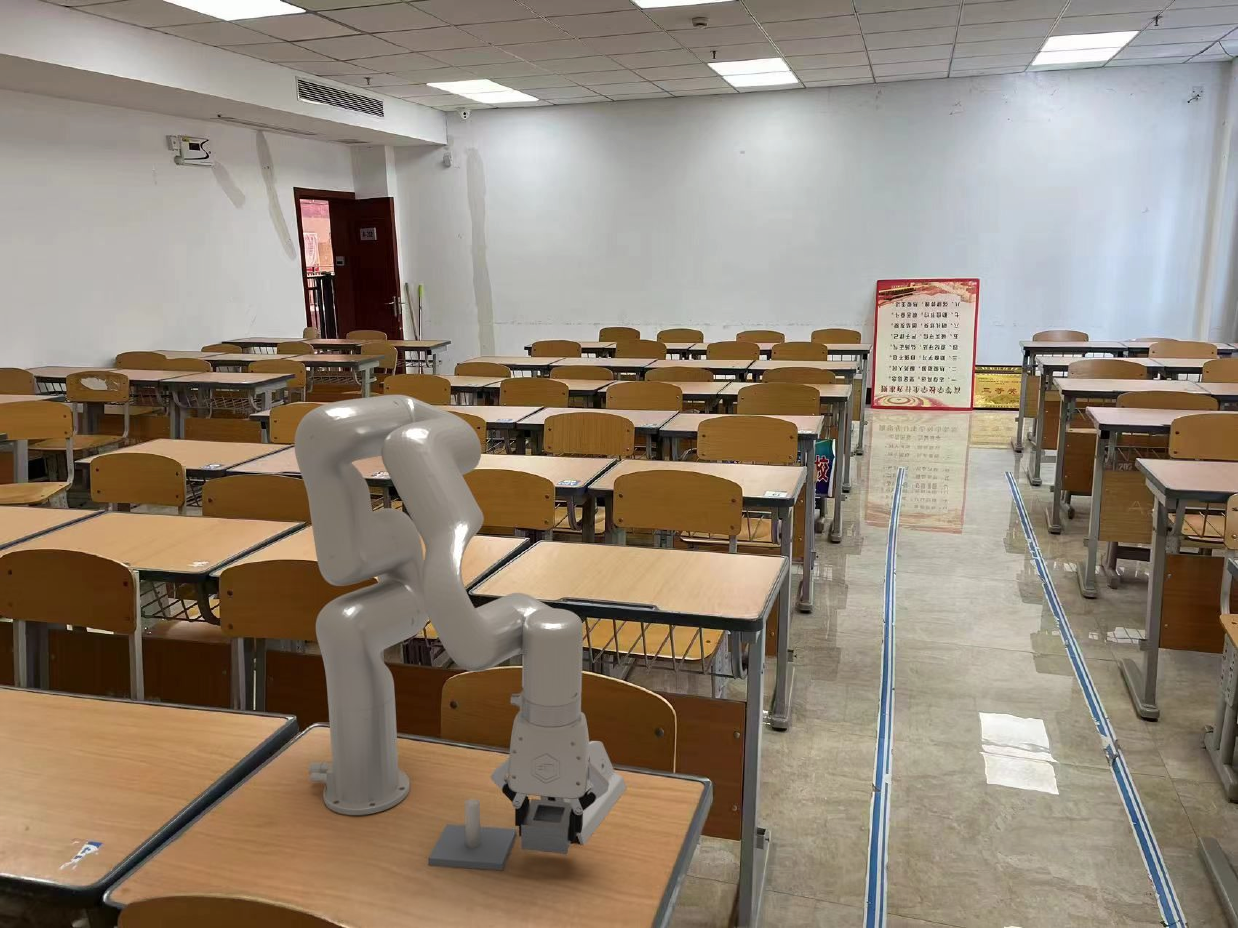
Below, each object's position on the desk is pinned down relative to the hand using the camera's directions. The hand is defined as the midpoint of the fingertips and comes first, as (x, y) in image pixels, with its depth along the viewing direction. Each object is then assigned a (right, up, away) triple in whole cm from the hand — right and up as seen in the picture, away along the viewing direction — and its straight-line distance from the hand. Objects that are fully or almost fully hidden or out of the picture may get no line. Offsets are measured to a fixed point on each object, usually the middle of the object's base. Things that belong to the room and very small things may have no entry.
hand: (548, 831), depth 122 cm
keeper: (-11, -4, +5) cm, 12 cm away
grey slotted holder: (+4, -3, +15) cm, 15 cm away
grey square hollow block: (0, -1, 0) cm, 1 cm away
